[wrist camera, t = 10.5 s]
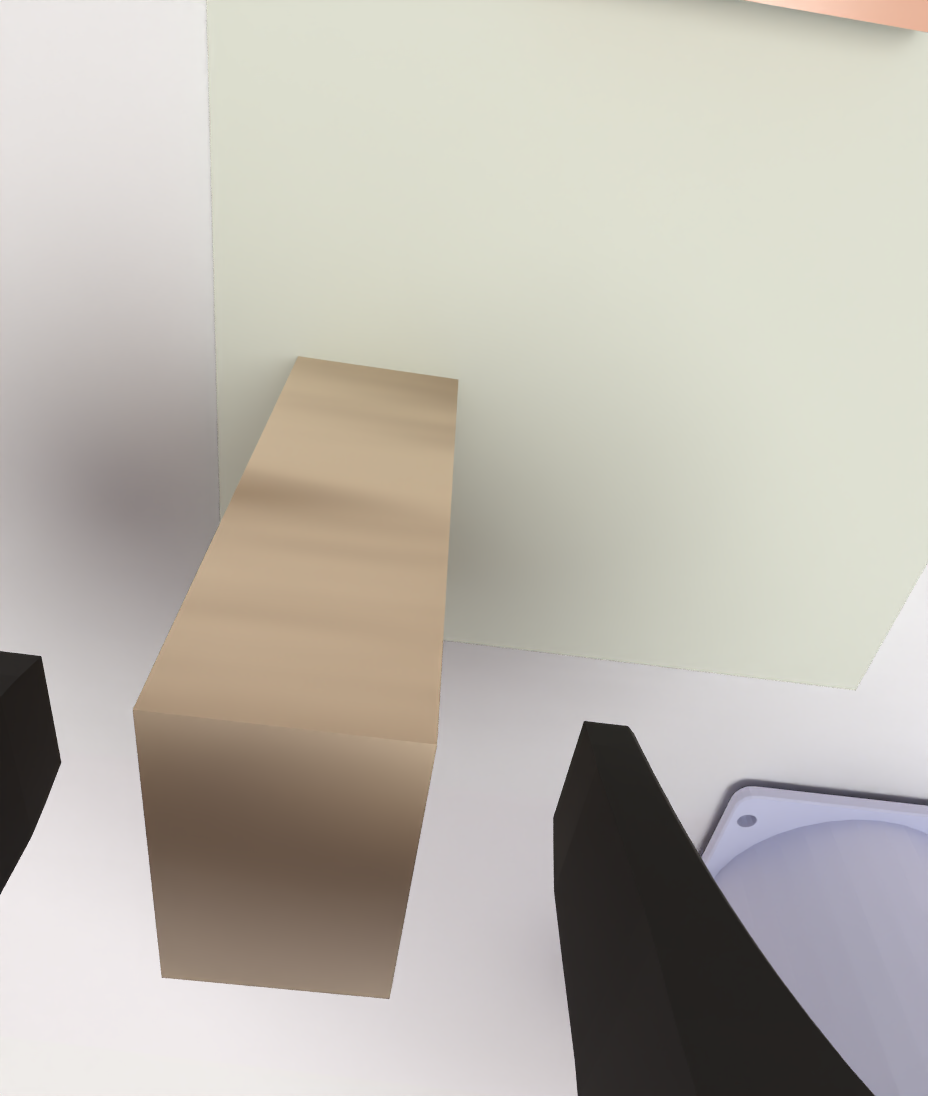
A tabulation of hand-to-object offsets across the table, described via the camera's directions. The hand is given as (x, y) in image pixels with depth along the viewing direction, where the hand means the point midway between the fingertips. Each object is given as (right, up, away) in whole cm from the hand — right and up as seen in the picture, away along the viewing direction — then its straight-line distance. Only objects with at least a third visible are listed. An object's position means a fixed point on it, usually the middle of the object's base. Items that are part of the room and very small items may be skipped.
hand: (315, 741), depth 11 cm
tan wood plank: (0, +4, +6) cm, 7 cm away
